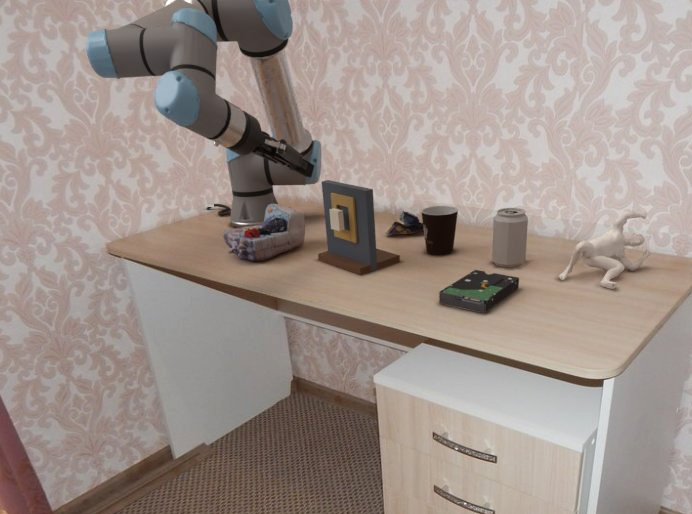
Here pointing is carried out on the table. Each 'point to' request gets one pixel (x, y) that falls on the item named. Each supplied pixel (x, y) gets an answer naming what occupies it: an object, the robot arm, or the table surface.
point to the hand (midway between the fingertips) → (310, 170)
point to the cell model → (268, 234)
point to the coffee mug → (439, 229)
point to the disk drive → (479, 291)
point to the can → (509, 237)
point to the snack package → (406, 225)
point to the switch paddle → (336, 219)
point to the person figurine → (609, 251)
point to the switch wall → (353, 230)
